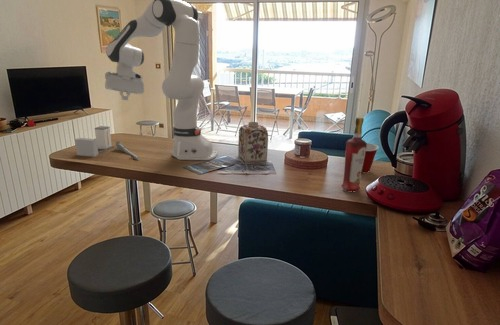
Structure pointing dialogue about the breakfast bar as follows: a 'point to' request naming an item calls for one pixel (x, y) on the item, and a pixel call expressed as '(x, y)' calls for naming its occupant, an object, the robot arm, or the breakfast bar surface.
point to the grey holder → (88, 147)
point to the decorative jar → (253, 142)
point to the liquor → (354, 158)
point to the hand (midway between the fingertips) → (124, 99)
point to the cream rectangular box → (103, 137)
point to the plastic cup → (369, 156)
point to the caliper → (125, 150)
